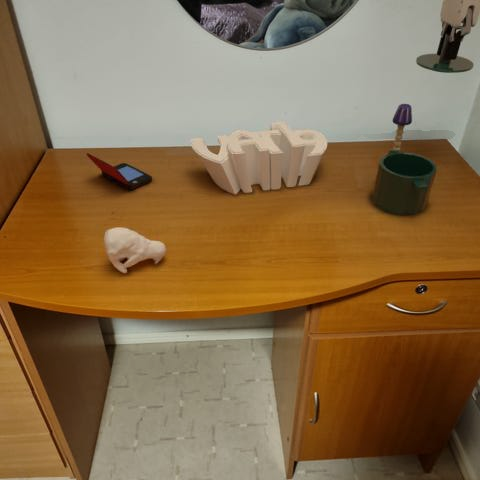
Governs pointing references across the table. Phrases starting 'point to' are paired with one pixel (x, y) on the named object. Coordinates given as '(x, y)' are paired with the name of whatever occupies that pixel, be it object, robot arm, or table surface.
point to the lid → (444, 61)
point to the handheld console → (122, 173)
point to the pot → (403, 183)
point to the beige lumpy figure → (131, 248)
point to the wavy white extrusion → (263, 158)
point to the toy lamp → (401, 122)
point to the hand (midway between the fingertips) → (446, 56)
